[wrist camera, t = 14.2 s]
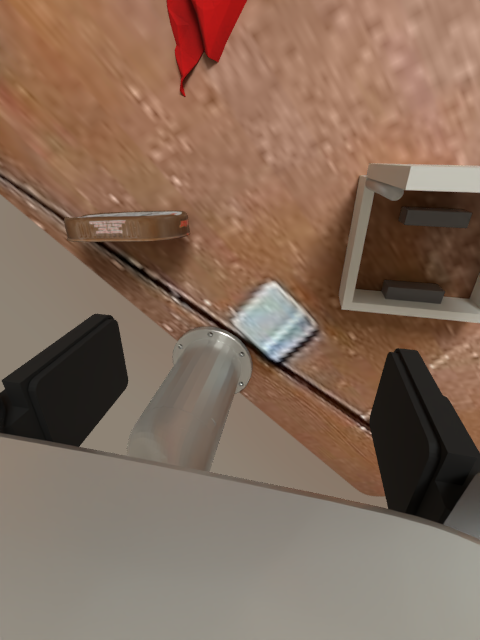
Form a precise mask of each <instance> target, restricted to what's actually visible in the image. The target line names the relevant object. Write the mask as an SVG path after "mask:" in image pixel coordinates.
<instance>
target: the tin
mask: <svg viewBox="0 0 480 640" xmlns="http://www.w3.org/2000/svg"><path fill="white" fill-rule="evenodd" d="M64 223H65V228H66V232H67V236H68V238H67V240H68V241H73V242H119V241H120V242H121V241H122V242H126V241H158V240H168V239H175V238H180V237H184V236H187V235H190V231H189V223H188V216H187V213H186V212H183V211H141V212H117V213H100V214H88V215H84V216H81V217H76V218H69V217H66V218H65V219H64Z"/></svg>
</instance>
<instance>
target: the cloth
mask: <svg viewBox="0 0 480 640" xmlns="http://www.w3.org/2000/svg"><path fill="white" fill-rule="evenodd" d="M246 1H247V0H167V7H168V12H169V18H170V23H171V27H172V31H173V34H174V38H175V41H176V44H177V45H176V48H175V55H176V60H177V64H178V67H179V70H180V73H181V76H182V77H181V85H180V92H181V93H182V94H183V96H184V97H185V93H184V88H183V83H182V82H183V80H184V78H185V77H186V75H187V74H188V73H189V72H190V71H191V70H192V69H193V68H194V66H195V65H196V64H197V63H198V61H199V59H200V57H201V56H202V54H203V52H204V50H205V53H206V55H207V56H208V57H209V58H211V59H213V60H215V61H217V62H219V59H220V57H221V54H222V52H223V50H224V47H225V44H226V42H227V40H228V38H229V36H230V34H231V32H232V30H233V28H234V26H235V24H236V22H237V20H238V18H239V15H240V13H241V11H242V9H243V7H244V5H245V3H246Z"/></svg>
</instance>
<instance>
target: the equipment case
mask: <svg viewBox="0 0 480 640" xmlns="http://www.w3.org/2000/svg"><path fill="white" fill-rule="evenodd" d="M404 190H415V191H443V192H471V193H480V166H463V165H419V164H375V163H369V166H368V171H367V175H360V177H359V183H358V188H357V194H356V200H355V205H354V211H353V217H352V222H351V228H350V233H349V239H348V245H347V250H346V256H345V261H344V267H343V273H342V278H341V284H340V289H339V299H340V304H341V309H342V310H352V311H363V312H373V313H383V314H393V315H403V316H414V317H424V318H434V319H444V320H455V321H465V322H475V323H480V273H479V276H478V278H477V281H476V283H475V286H474V289H473V291H472V294H471V296H470V299H466V298H454V297H443V296H444V293H445V291H444V290H443V289H442V288H441V287H440V286H439V285H438V284H430V283H418V282H405V281H393V280H384V282H383V286H382V290H381V291H374V290H362V289H355V286H356V281H357V276H358V271H359V266H360V261H361V256H362V251H363V246H364V241H365V237H366V232H367V227H368V222H369V217H370V212H371V207H372V202H373V197H374V192H376V193H378V194H380V195H382V196H384V197H386V198H388V199H390V200H392V201H397V200H399V199H400V198H401V197H402V196H403V193H404ZM471 215H472V213H471V212H468V211H465V210H462V209H443V208H421V207H402V208H401V212H400V217H399V221H400V222H401V223H402V224H404V225H417V226H436V227H455V228H467V227H468V224H469V221H470V218H471Z"/></svg>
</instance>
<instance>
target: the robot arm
mask: <svg viewBox="0 0 480 640" xmlns="http://www.w3.org/2000/svg"><path fill="white" fill-rule="evenodd" d="M211 332H212V333H211ZM173 364H174V367H173V368H172V369H171V371H170V372H169V374H168V376H167V377H166V379H165V380H164V382H163V383H162V385H161V386H160V388H159V389H158V391H157V392H156V394H155V395H154V397H153V399H152V400H151V401H150V403H149V404H148V406H147V407H146V409H145V410H144V412H143V413H142V415H141V416H140V418H139V420H138V421H137V423H136V424H135V426H134V428H133V430H132V432H131V434H130V437H129V441H128V446H127V456H124V455H119V454H114V453H108V452H103V451H97V450H93V449H87V448H81V447H79V446H80V445H81V444H82V442H83V441H84V440H85V438H86V437H87V436H88V435H89V434H90V432H91V431H92V430H93V429H94V427H95V426H96V425H97V424H98V423H99V421H100V420H101V419H102V418H103V416H104V415H105V414H106V412H107V411H108V410H109V409H110V408H111V406H112V405H113V404H114V403H115V401H116V400H117V399H118V398H119V396H120V395H121V394H122V393H123V391H124V390H125V389H126V387H127V384H128V376H127V370H126V365H125V359H124V354H123V348H122V343H121V338H120V332H119V327H118V323H117V321H116V320H114V318H113V317H112V316H111V315H102V314H94V315H92V316H91V317H89V318H88V319H87V320H85V321H84V322H82V323H81V324H80V325H78V326H77V327H76V328H74V329H73V330H71V331H70V332H68V333H67V334H66V335H64V336H63V337H61V338H60V339H59V340H57V341H56V342H55V343H53V344H52V345H50V346H49V347H48V348H46V349H45V350H43V351H42V352H41V353H39V354H38V355H36V356H35V357H34V358H32V359H31V360H29V361H28V362H27V363H25V364H24V365H22V366H21V367H20V368H18V369H17V370H15V371H14V372H13V373H11V374H10V375H8V376H7V377H6V378H4V379H3V380H2V382H3V385H4V387H5V390H4V391H2V392H1V393H0V640H480V453H479V451H478V449H477V448H476V446H475V444H474V442H473V441H472V439H471V437H470V435H469V434H468V432H467V430H466V429H465V427H464V425H463V423H462V422H461V420H460V418H459V416H458V415H457V413H456V411H455V409H454V408H453V406H452V404H451V403H450V401H449V400H448V398H447V397H445V396H443V395H442V393H441V392H440V390H439V388H438V386H437V384H436V383H435V381H434V379H433V377H432V375H431V374H430V372H429V370H428V368H427V367H426V365H425V363H424V361H423V359H422V358H421V356H420V354H419V352H418V351H416V350H408V349H399V348H397V349H396V350H395V351H394V352H389V353H388V355H387V358H386V362H385V365H384V369H383V372H382V376H381V379H380V383H379V386H378V390H377V394H376V397H375V401H374V404H373V408H372V411H371V415H370V429H371V433H372V438H373V442H374V447H375V451H376V456H377V460H378V465H379V469H380V474H381V478H382V482H383V487H384V491H385V496H386V500H387V505H388V509H386V508H382V507H378V506H373V505H368V504H364V503H359V502H354V501H350V500H345V499H341V498H336V497H331V496H327V495H322V494H317V493H313V492H307V491H302V490H298V489H292V488H288V487H282V486H278V485H273V484H268V483H263V482H257V481H252V480H247V479H242V478H237V477H233V476H227V475H222V474H217V473H212V472H210V468H211V465H212V462H213V459H214V456H215V453H216V450H217V447H218V443H219V441H220V437H221V434H222V431H223V428H224V425H225V422H226V419H227V416H228V412H229V409H230V406H231V403H232V400H233V397H234V394H236V393H238V392H240V391H241V390H242V389H243V388H245V386H246V385H247V384H248V382H249V380H250V377H251V373H252V359H251V356H250V353H249V351H248V349H247V348H246V346H245V345H244V344H243V343H242V342H241V341H240V340H239V339H238V338H237V337H236V336H234V335H233V334H231V333H229V332H227V331H225V330H222V329H219V328H215V327H199V328H195V329H192V330H190V331H188V332H186V333H185V334H184V335H183V336H182V337H181V338H180V339H179V340H178V342H177V343H176V345H175V348H174V350H173Z"/></svg>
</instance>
